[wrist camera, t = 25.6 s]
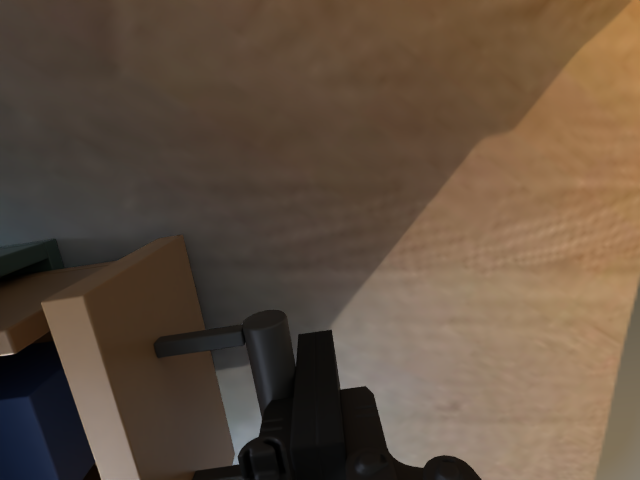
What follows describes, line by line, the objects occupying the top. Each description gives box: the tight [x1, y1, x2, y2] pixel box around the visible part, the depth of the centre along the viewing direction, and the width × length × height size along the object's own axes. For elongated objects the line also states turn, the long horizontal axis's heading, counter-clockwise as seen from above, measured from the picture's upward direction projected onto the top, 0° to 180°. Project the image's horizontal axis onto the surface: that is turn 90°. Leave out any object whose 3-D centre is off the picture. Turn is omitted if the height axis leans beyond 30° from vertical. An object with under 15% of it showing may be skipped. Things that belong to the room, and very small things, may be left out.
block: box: [0, 341, 95, 480], centre depth 16 cm, size 5×5×5 cm
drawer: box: [0, 235, 296, 480], centre depth 15 cm, size 20×12×8 cm, turn 98°
